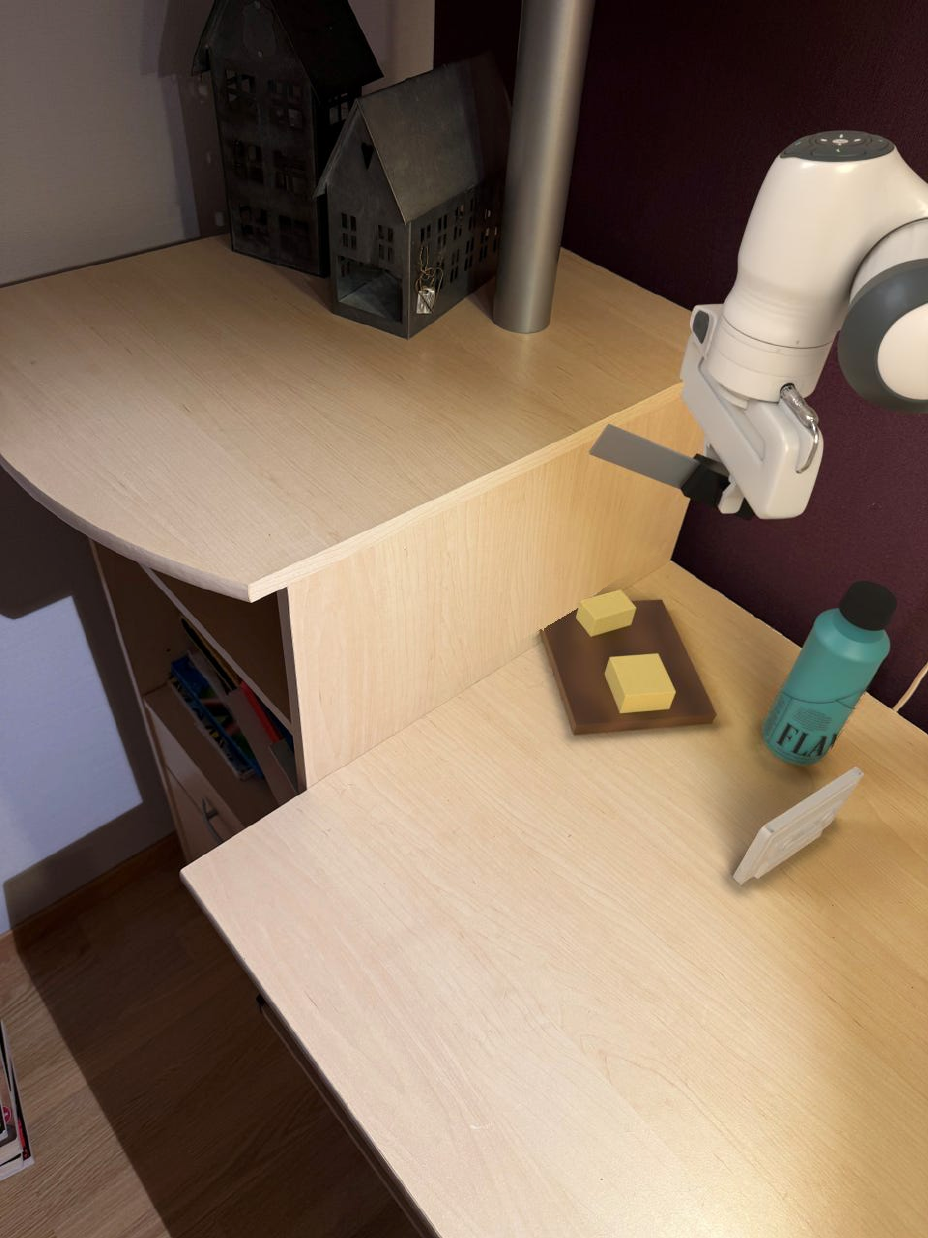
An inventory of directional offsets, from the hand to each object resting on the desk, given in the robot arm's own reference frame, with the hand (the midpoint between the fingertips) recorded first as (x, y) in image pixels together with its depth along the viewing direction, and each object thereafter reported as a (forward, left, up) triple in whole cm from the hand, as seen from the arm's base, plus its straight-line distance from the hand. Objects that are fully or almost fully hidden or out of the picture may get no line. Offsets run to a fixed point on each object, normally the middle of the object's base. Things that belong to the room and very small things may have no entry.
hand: (717, 495), depth 82 cm
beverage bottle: (-7, +15, -19) cm, 25 cm away
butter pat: (+7, -2, -17) cm, 19 cm away
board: (+6, +3, -19) cm, 20 cm away
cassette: (-2, +25, -19) cm, 32 cm away
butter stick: (+6, +8, -17) cm, 20 cm away
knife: (+4, 0, +1) cm, 4 cm away
